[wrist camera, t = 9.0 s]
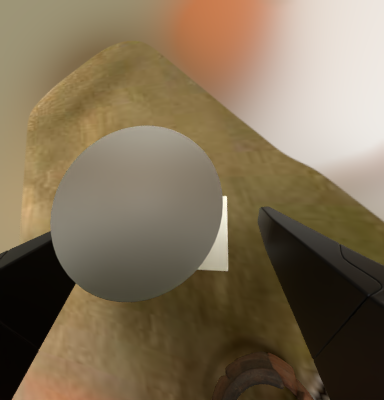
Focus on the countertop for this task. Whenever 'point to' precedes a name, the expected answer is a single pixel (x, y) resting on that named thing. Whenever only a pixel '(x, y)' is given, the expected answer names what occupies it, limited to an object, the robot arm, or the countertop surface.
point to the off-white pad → (218, 246)
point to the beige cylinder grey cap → (136, 213)
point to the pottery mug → (258, 376)
